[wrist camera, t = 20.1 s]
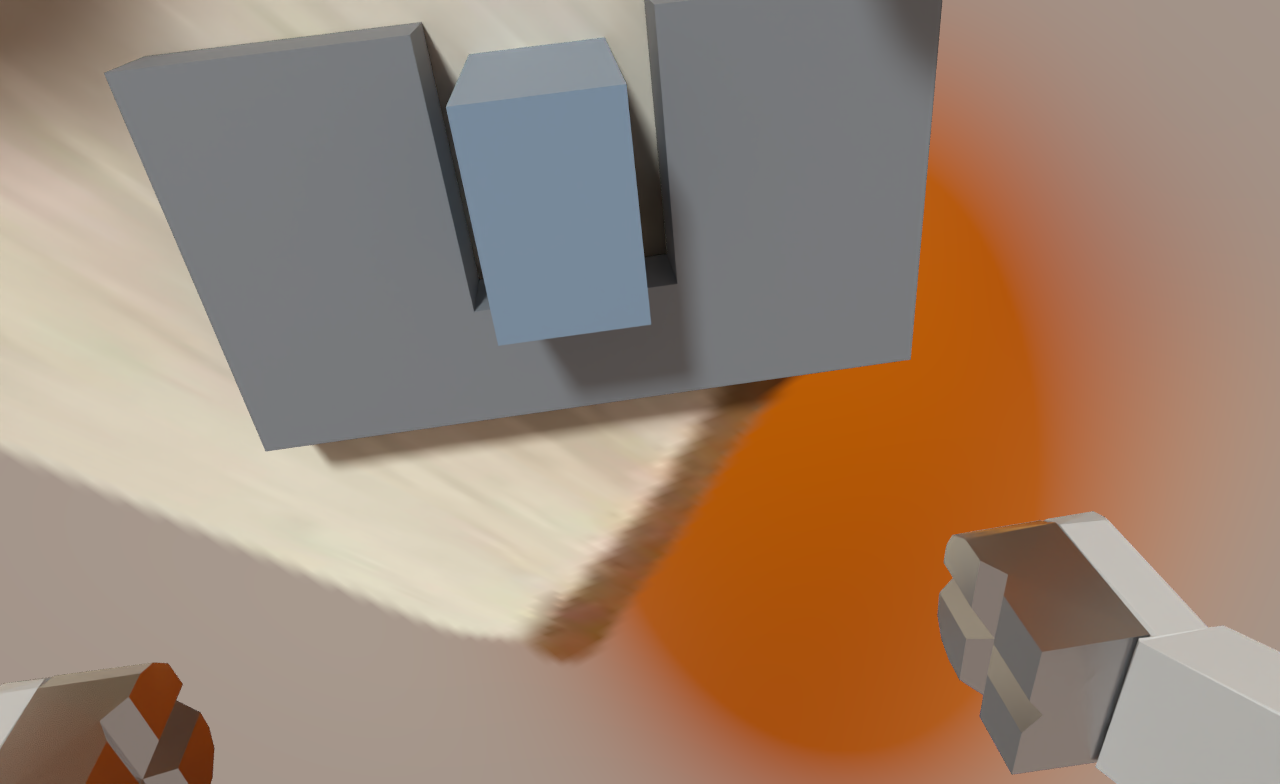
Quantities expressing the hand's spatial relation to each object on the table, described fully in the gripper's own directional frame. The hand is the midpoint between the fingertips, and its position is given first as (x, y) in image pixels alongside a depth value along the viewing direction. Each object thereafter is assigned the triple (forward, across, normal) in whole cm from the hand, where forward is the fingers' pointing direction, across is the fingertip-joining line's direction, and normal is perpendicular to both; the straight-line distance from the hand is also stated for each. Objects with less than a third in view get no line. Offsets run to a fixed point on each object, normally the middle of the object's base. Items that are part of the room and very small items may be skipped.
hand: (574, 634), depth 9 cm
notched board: (+20, 0, +2) cm, 20 cm away
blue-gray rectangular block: (+20, 0, 0) cm, 20 cm away
